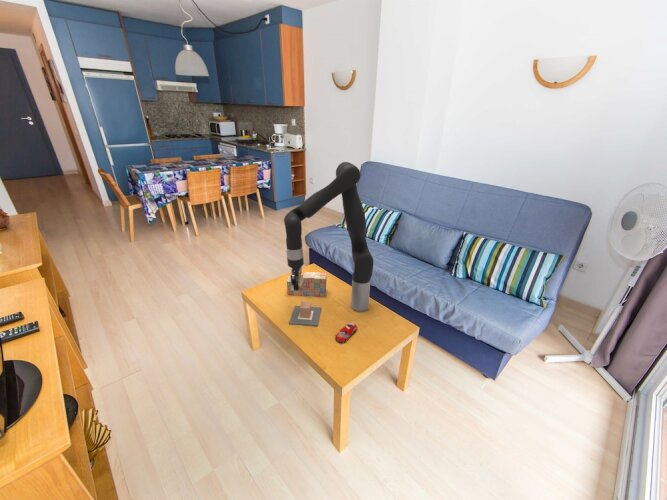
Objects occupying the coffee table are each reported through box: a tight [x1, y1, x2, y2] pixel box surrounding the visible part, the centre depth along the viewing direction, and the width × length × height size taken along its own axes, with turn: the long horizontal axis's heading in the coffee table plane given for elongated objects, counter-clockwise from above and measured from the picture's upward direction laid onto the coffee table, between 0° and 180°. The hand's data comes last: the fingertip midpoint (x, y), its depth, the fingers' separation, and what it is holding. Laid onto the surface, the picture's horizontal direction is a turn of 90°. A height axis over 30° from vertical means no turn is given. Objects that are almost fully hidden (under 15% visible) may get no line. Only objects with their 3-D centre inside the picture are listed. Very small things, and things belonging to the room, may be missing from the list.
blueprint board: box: [288, 305, 322, 327], centre depth 151 cm, size 14×14×1 cm
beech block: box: [290, 274, 304, 291], centre depth 144 cm, size 5×5×6 cm
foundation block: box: [299, 301, 312, 318], centre depth 149 cm, size 5×5×6 cm
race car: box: [334, 322, 358, 344], centre depth 139 cm, size 13×5×4 cm, turn 141°
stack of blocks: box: [286, 271, 327, 298], centre depth 166 cm, size 21×6×12 cm, turn 87°
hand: (297, 286), depth 145 cm, fingers closed on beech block, 5 cm apart
